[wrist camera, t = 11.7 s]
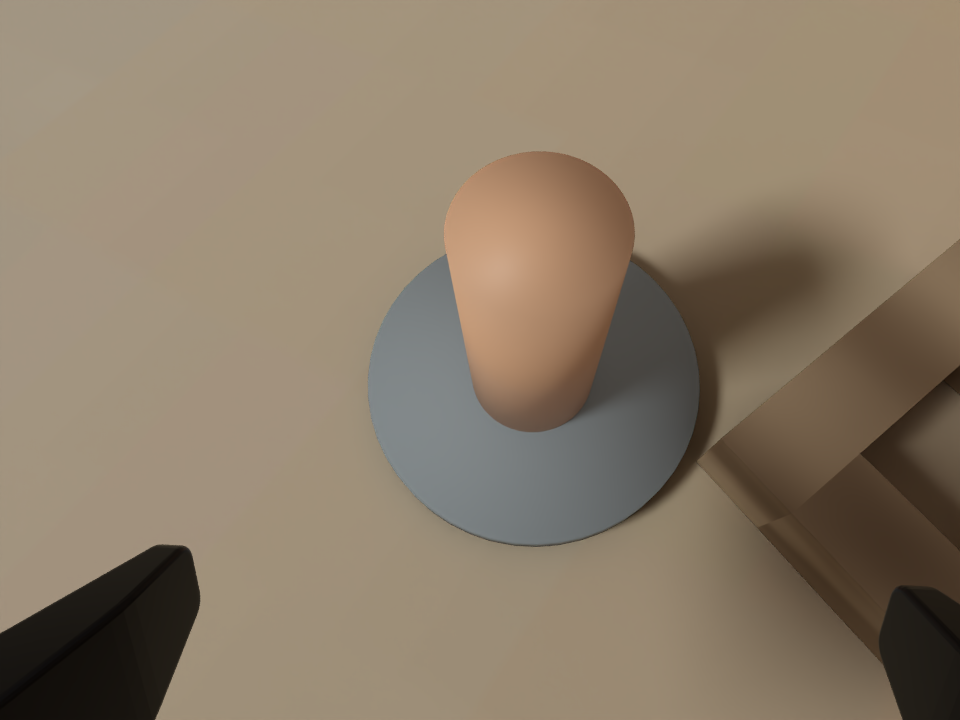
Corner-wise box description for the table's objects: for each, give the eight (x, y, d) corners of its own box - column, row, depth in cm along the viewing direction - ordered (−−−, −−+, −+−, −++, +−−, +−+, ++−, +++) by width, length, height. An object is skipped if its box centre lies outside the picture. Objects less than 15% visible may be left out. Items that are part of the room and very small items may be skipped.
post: (559, 453, 22) (584, 348, 13) (450, 398, 23) (409, 267, 14) (612, 349, 23) (665, 193, 15) (506, 301, 24) (499, 126, 15)
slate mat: (505, 621, 21) (504, 621, 20) (314, 361, 25) (306, 351, 24) (761, 406, 23) (772, 397, 22) (551, 194, 26) (552, 178, 26)
